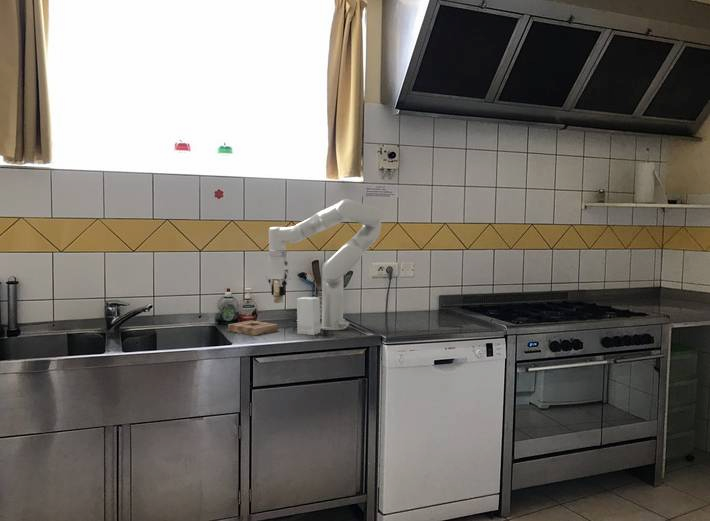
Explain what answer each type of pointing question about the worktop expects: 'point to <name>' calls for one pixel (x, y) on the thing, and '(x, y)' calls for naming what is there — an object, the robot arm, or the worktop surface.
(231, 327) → the wooden square frame
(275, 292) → the beech peg
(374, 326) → the worktop surface
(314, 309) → the skincare box
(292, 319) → the worktop surface
